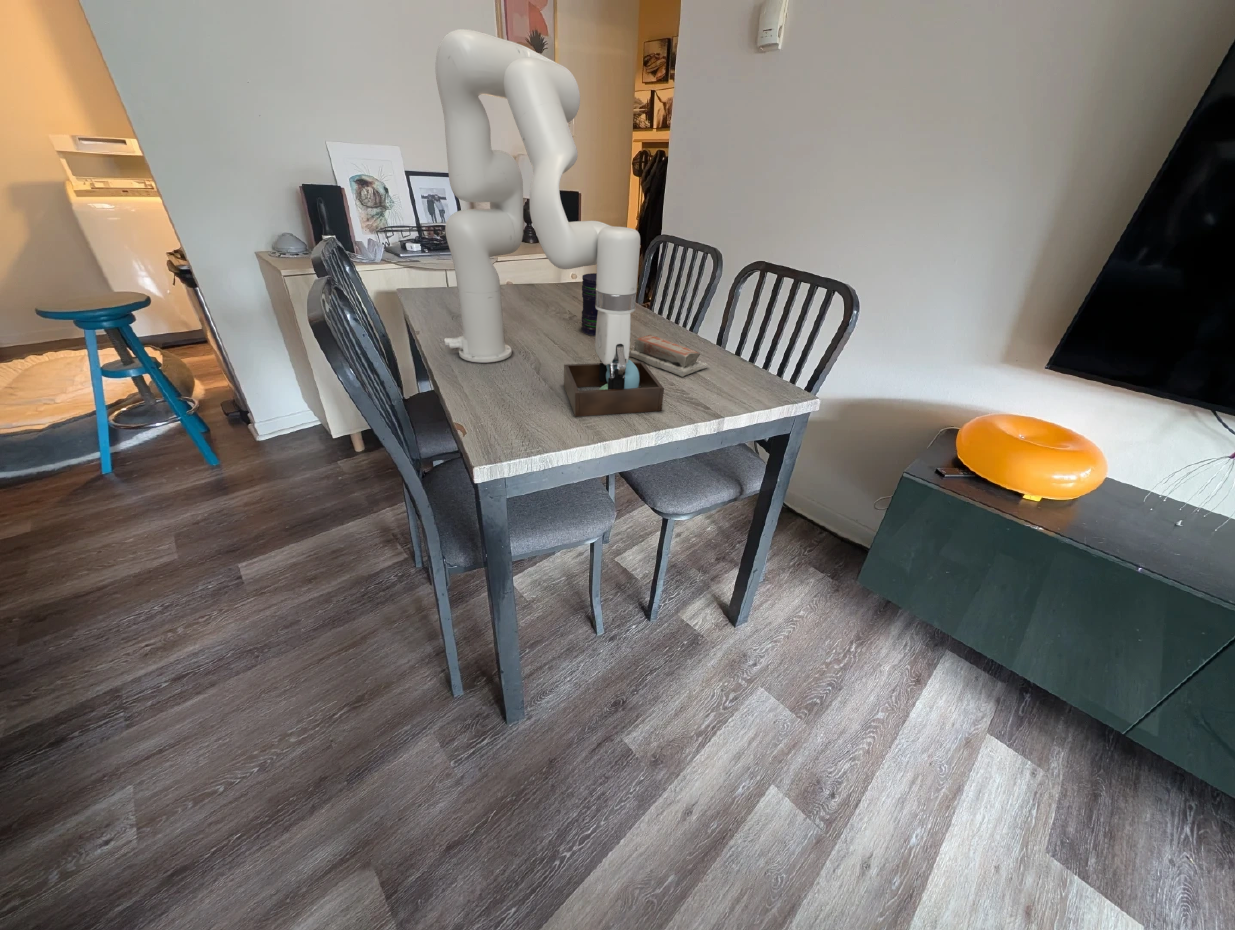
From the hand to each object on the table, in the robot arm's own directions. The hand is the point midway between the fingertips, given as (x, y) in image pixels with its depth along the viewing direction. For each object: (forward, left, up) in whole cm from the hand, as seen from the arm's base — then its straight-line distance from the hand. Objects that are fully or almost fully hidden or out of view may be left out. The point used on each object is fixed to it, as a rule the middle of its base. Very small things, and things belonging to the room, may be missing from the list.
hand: (610, 387), depth 98 cm
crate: (0, 0, -2) cm, 2 cm away
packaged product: (+19, +19, -3) cm, 27 cm away
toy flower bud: (0, -1, -3) cm, 3 cm away
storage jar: (+7, +46, -2) cm, 46 cm away
